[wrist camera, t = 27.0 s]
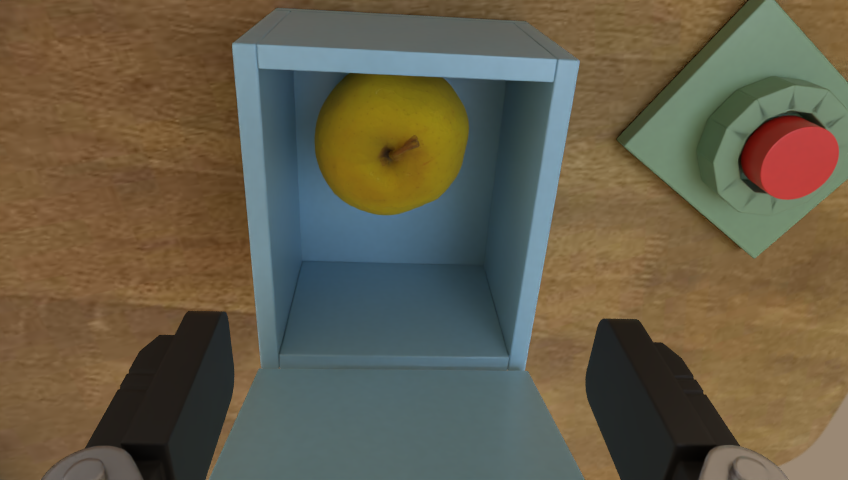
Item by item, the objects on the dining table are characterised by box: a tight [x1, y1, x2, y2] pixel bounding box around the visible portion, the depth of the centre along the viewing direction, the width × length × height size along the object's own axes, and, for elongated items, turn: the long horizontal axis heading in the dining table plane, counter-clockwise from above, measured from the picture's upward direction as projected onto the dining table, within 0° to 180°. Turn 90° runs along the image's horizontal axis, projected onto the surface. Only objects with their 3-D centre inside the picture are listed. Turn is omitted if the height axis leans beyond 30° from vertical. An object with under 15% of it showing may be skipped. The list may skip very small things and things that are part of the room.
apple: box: [314, 73, 469, 215], centre depth 25 cm, size 6×6×8 cm
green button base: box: [617, 0, 848, 258], centre depth 30 cm, size 11×9×3 cm
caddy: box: [232, 8, 580, 371], centre depth 27 cm, size 14×12×9 cm
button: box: [741, 116, 839, 200], centre depth 28 cm, size 4×4×2 cm
